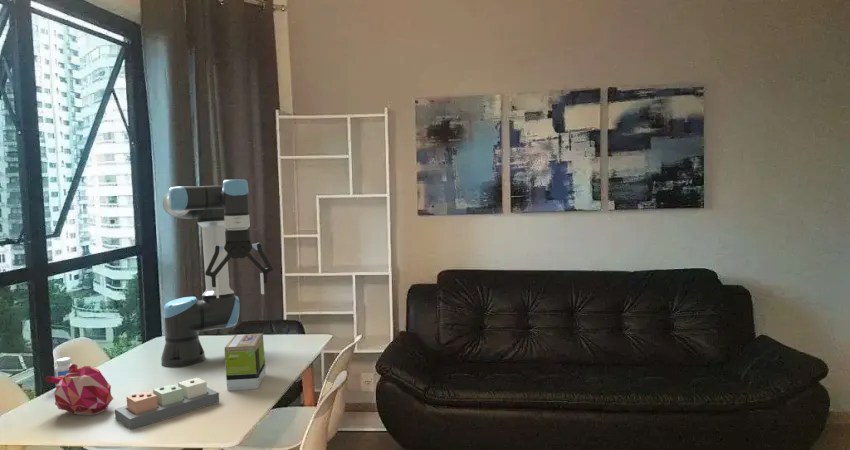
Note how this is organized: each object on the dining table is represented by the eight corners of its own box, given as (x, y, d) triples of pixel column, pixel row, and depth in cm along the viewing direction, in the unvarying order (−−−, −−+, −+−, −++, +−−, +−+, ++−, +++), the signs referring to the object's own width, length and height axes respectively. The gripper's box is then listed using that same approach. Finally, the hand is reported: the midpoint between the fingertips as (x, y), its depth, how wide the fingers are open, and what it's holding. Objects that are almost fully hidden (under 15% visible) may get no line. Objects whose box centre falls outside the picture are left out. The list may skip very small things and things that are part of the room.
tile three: (127, 410, 172) (126, 395, 172) (148, 404, 177) (147, 389, 176) (135, 415, 168) (134, 400, 168) (157, 409, 173) (156, 394, 172)
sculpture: (130, 401, 184) (86, 371, 191) (120, 377, 176) (75, 346, 183) (90, 436, 175) (45, 403, 181) (78, 412, 166) (31, 378, 173)
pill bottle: (78, 386, 201) (76, 357, 200) (64, 391, 196) (62, 362, 195) (66, 384, 203) (64, 356, 202) (52, 389, 198) (49, 360, 197)
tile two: (153, 402, 178) (153, 388, 177) (173, 396, 182) (173, 382, 182) (162, 407, 174) (161, 393, 173) (183, 401, 178) (182, 387, 178)
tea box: (236, 375, 208) (234, 333, 207) (266, 374, 209) (264, 332, 208) (226, 391, 193) (223, 346, 192) (258, 389, 194) (256, 344, 193)
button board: (115, 419, 172) (114, 408, 172) (202, 393, 191) (201, 384, 191) (130, 429, 165) (129, 419, 165) (219, 402, 184) (218, 392, 184)
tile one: (178, 395, 183) (178, 381, 183) (197, 390, 188) (197, 376, 187) (187, 400, 179) (187, 386, 179) (207, 394, 184) (206, 380, 183)
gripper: (194, 231, 182) (198, 301, 184) (279, 227, 190) (281, 294, 192) (195, 229, 189) (198, 296, 191) (276, 225, 197) (279, 290, 199)
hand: (240, 295), depth 191 cm, fingers open, 13 cm apart
